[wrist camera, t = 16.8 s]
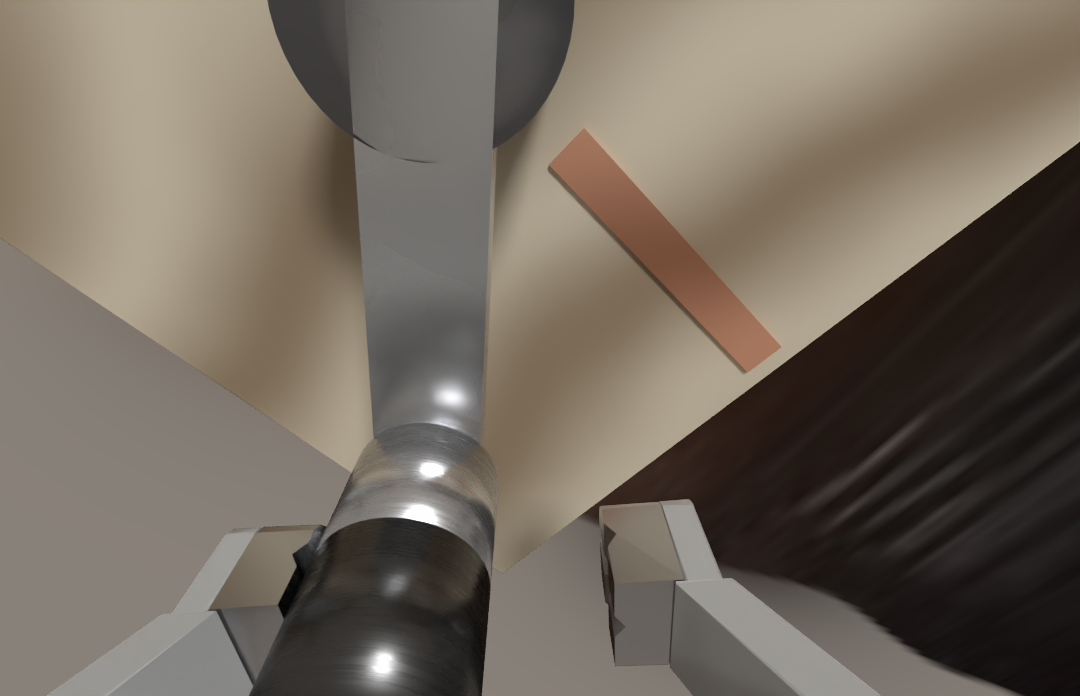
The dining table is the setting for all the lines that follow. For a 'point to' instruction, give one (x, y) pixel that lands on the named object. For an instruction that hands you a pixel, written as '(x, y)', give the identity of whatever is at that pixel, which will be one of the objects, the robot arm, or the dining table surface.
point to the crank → (414, 332)
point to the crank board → (532, 204)
